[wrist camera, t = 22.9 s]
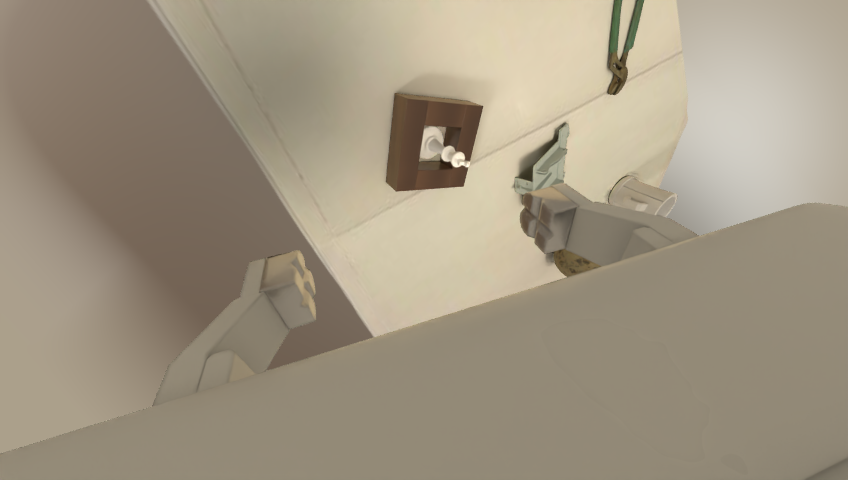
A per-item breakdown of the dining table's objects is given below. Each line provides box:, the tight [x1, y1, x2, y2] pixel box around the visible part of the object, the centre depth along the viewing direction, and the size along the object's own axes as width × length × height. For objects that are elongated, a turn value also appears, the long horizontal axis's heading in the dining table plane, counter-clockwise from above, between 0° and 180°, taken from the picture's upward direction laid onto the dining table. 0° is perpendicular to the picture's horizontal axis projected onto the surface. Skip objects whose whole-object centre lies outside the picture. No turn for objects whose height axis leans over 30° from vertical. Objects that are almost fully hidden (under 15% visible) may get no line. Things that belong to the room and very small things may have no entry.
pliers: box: [608, 0, 644, 95], centre depth 52 cm, size 20×7×1 cm, turn 17°
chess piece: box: [420, 126, 470, 167], centre depth 41 cm, size 5×5×10 cm
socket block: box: [386, 93, 483, 191], centre depth 43 cm, size 12×12×4 cm
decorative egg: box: [554, 249, 602, 277], centre depth 77 cm, size 11×11×15 cm
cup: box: [609, 176, 677, 217], centre depth 79 cm, size 10×9×12 cm
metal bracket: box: [515, 123, 569, 195], centre depth 60 cm, size 14×6×15 cm
